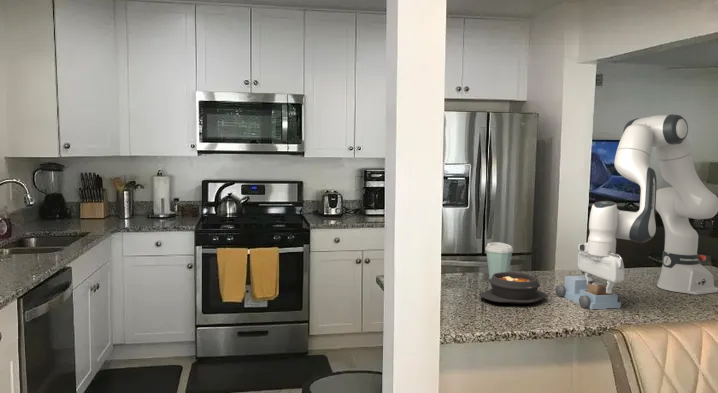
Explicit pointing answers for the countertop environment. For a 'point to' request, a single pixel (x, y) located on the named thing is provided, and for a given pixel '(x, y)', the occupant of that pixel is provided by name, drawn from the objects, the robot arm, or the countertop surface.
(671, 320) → the countertop surface
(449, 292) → the countertop surface
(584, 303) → the chassis
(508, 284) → the casserole
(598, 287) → the block
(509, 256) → the disposable coffee cup
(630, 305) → the countertop surface
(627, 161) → the robot arm
